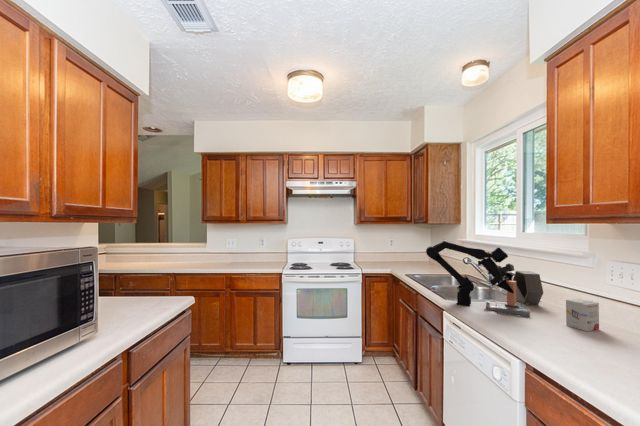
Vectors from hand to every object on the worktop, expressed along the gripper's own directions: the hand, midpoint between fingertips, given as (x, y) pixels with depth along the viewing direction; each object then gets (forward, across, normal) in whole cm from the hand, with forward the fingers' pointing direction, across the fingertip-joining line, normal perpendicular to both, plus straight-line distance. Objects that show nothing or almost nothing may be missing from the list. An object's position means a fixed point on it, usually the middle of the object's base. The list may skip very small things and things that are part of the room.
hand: (514, 292), depth 161 cm
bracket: (+1, -5, +14) cm, 15 cm away
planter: (+6, +26, +9) cm, 28 cm away
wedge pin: (+4, 0, +6) cm, 7 cm away
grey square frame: (+6, 0, +8) cm, 10 cm away
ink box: (+27, -2, -12) cm, 29 cm away
